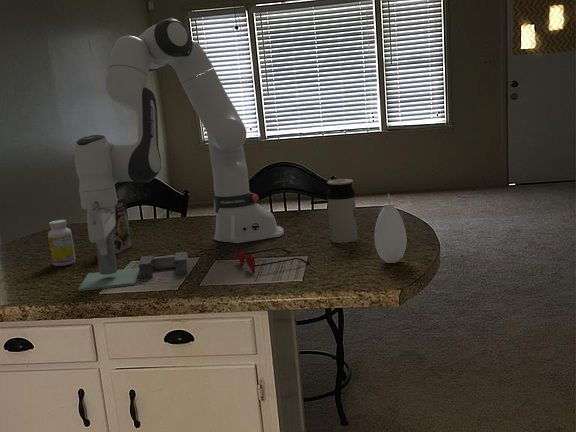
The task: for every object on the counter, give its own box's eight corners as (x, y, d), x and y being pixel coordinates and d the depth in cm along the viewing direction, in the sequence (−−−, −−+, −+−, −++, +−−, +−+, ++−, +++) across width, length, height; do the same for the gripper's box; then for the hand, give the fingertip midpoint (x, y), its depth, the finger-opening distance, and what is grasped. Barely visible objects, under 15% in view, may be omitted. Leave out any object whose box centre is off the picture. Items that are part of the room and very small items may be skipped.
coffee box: (119, 253, 189) (112, 202, 186) (100, 254, 191) (93, 203, 187) (132, 246, 198) (126, 196, 195) (114, 246, 199) (107, 197, 196)
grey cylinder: (120, 270, 163) (116, 232, 161) (110, 275, 158) (105, 236, 156) (106, 269, 164) (101, 232, 162) (95, 274, 160) (90, 236, 158)
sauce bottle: (388, 269, 151) (384, 197, 148) (370, 262, 158) (366, 193, 155) (413, 263, 155) (410, 192, 151) (394, 256, 162) (391, 189, 158)
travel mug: (326, 243, 181) (322, 183, 177) (335, 237, 188) (331, 179, 185) (353, 244, 178) (349, 182, 174) (360, 237, 185) (357, 178, 182)
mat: (140, 269, 169) (140, 267, 169) (135, 284, 156) (135, 282, 156) (88, 275, 168) (88, 273, 167) (78, 291, 154) (78, 289, 154)
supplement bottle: (56, 261, 186) (49, 220, 183) (78, 259, 186) (72, 218, 184) (49, 267, 179) (42, 224, 177) (72, 265, 180) (66, 222, 177)
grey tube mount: (188, 263, 171) (186, 249, 170) (187, 273, 162) (186, 259, 161) (144, 268, 170) (142, 254, 169) (140, 279, 160) (138, 264, 159)
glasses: (235, 264, 168) (233, 246, 167) (291, 254, 174) (289, 237, 173) (252, 277, 156) (250, 258, 155) (311, 265, 162) (309, 247, 161)
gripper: (104, 205, 148) (112, 260, 150) (116, 192, 168) (123, 241, 170) (77, 207, 147) (86, 263, 150) (93, 194, 167) (100, 243, 170)
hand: (106, 251), depth 160 cm, fingers closed on grey cylinder, 4 cm apart
